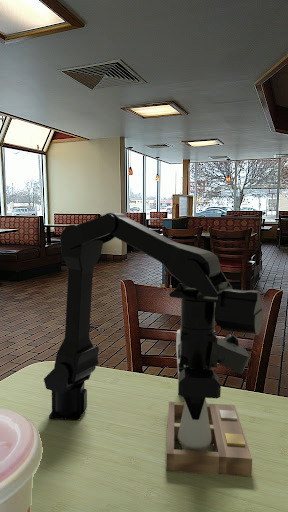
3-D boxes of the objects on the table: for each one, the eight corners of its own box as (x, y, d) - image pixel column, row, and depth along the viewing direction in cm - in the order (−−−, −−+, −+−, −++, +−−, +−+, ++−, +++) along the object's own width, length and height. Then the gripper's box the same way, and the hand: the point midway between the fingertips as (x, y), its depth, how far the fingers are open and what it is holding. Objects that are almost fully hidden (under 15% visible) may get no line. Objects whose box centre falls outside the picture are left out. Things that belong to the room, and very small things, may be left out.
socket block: (166, 470, 61) (166, 451, 61) (168, 415, 79) (168, 399, 79) (251, 476, 60) (252, 456, 60) (234, 418, 78) (234, 403, 78)
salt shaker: (210, 462, 62) (212, 386, 61) (175, 457, 63) (177, 383, 62) (211, 441, 68) (213, 372, 67) (179, 437, 69) (181, 369, 68)
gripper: (258, 344, 54) (253, 448, 55) (237, 313, 72) (234, 392, 74) (179, 341, 55) (177, 444, 56) (178, 311, 73) (177, 389, 75)
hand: (195, 413), depth 65 cm, fingers closed on salt shaker, 3 cm apart
